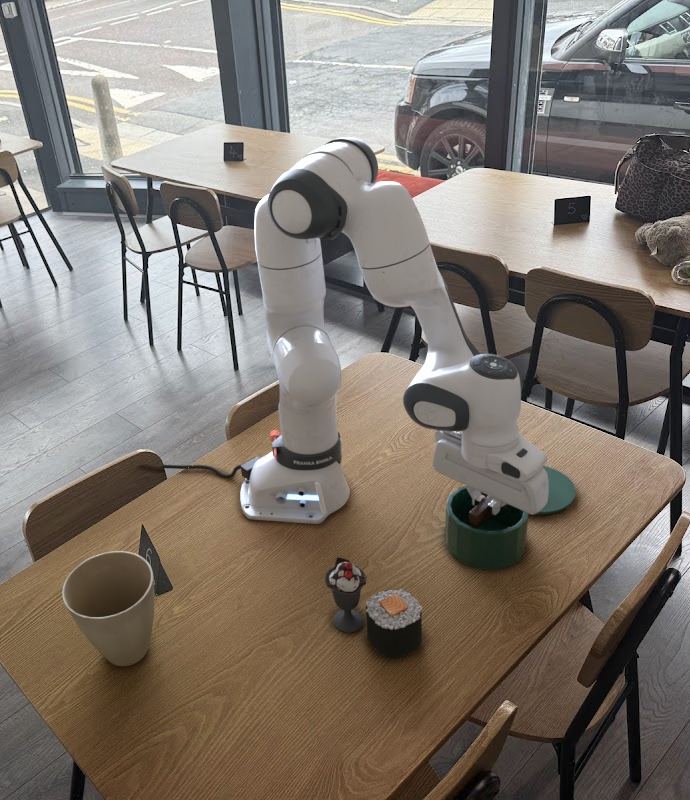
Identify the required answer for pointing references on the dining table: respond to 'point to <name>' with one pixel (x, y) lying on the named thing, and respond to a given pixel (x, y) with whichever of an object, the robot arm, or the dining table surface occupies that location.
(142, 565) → the plant pot
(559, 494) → the lid
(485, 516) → the brown bar with disc
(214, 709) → the dining table surface
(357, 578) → the sundae
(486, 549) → the tin
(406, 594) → the sushi
